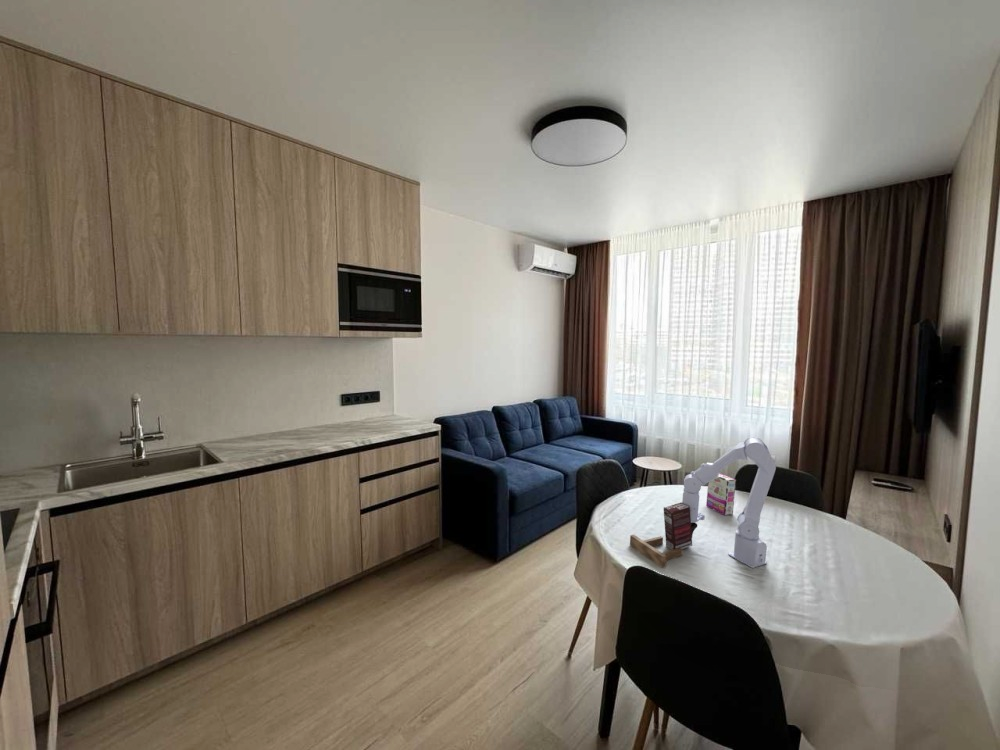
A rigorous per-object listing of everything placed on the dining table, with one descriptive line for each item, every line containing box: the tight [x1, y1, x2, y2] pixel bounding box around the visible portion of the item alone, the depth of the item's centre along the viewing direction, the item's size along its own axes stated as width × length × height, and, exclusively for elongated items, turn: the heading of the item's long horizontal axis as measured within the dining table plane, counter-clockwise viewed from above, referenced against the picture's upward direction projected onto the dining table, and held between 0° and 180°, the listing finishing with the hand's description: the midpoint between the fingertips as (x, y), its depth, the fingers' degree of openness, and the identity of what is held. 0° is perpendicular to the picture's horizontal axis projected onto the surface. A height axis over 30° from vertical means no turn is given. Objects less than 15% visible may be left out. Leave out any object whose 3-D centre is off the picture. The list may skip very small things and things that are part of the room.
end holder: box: [629, 534, 683, 568], centre depth 151 cm, size 16×13×4 cm
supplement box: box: [663, 501, 693, 550], centre depth 154 cm, size 9×5×16 cm, turn 107°
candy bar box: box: [705, 472, 737, 516], centre depth 189 cm, size 11×5×16 cm, turn 17°
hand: (687, 539), depth 158 cm, fingers closed, pressing on supplement box
